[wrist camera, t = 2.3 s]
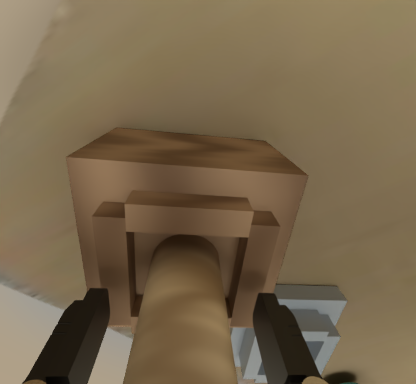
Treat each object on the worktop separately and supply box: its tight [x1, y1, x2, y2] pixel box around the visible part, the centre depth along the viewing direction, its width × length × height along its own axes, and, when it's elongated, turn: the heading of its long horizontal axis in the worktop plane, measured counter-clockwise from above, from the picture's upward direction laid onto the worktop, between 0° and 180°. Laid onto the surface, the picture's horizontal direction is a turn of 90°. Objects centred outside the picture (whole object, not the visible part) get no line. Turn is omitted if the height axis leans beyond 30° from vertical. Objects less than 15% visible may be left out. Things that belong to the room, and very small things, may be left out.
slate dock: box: [230, 285, 347, 383], centre depth 27 cm, size 12×12×4 cm
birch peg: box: [123, 234, 238, 384], centre depth 10 cm, size 4×4×8 cm
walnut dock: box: [66, 128, 308, 334], centre depth 17 cm, size 12×12×10 cm
